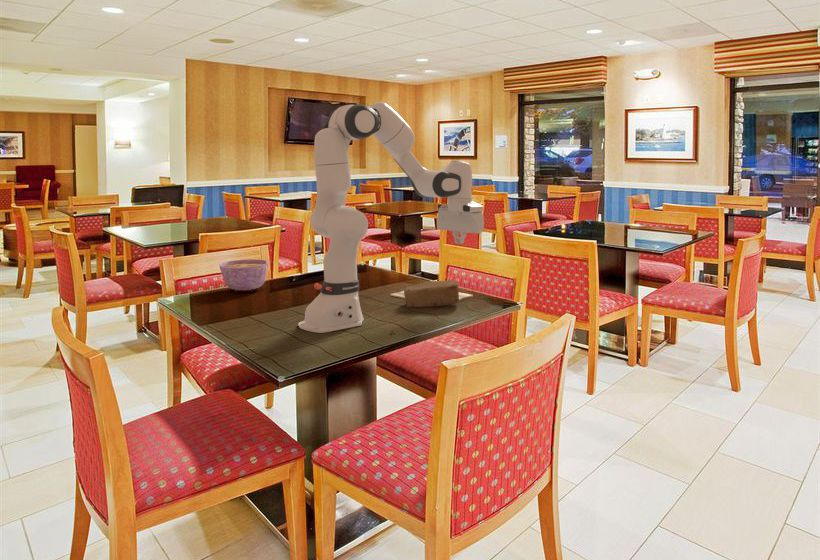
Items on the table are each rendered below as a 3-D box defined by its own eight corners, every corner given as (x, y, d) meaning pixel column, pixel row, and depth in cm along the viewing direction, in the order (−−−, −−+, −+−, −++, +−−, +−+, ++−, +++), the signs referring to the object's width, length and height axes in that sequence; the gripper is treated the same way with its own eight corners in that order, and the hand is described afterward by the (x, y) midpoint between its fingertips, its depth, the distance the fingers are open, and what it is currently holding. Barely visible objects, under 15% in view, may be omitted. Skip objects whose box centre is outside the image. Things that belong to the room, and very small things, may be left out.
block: (457, 285, 221) (402, 291, 223) (460, 305, 223) (405, 310, 225) (457, 277, 231) (404, 282, 233) (459, 295, 234) (407, 301, 235)
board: (438, 306, 227) (438, 304, 227) (390, 295, 245) (390, 294, 245) (473, 296, 241) (473, 294, 241) (425, 287, 259) (425, 285, 259)
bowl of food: (280, 288, 264) (278, 261, 261) (245, 297, 247) (242, 269, 245) (247, 283, 274) (245, 257, 272) (211, 292, 258) (208, 265, 255)
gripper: (433, 205, 230) (433, 241, 233) (475, 207, 216) (475, 247, 219) (444, 204, 235) (444, 240, 237) (486, 206, 220) (486, 245, 223)
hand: (459, 243), depth 228 cm, fingers closed
